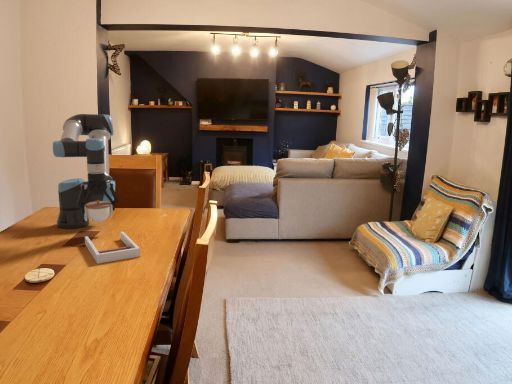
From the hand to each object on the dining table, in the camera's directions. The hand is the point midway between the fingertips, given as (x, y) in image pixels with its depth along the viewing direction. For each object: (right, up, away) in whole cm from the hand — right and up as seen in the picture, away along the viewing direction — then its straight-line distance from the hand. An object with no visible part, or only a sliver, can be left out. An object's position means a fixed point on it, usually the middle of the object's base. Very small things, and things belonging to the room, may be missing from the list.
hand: (98, 218), depth 184 cm
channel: (+13, -12, -18) cm, 25 cm away
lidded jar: (0, -1, 0) cm, 1 cm away
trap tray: (+17, -13, -25) cm, 32 cm away
